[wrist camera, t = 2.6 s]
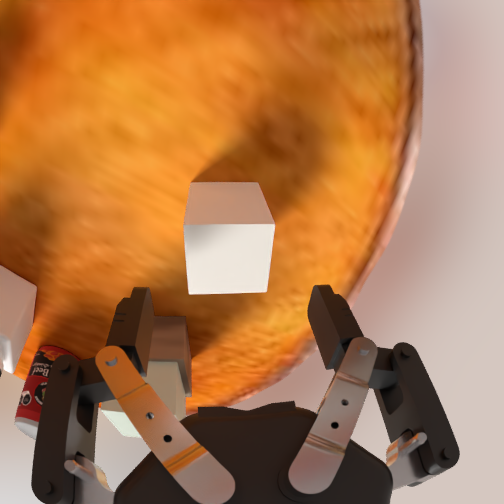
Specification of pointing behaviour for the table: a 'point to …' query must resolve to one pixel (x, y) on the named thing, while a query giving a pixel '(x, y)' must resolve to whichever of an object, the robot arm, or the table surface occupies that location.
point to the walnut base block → (172, 346)
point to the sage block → (166, 387)
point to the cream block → (227, 238)
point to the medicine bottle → (14, 317)
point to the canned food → (36, 389)
